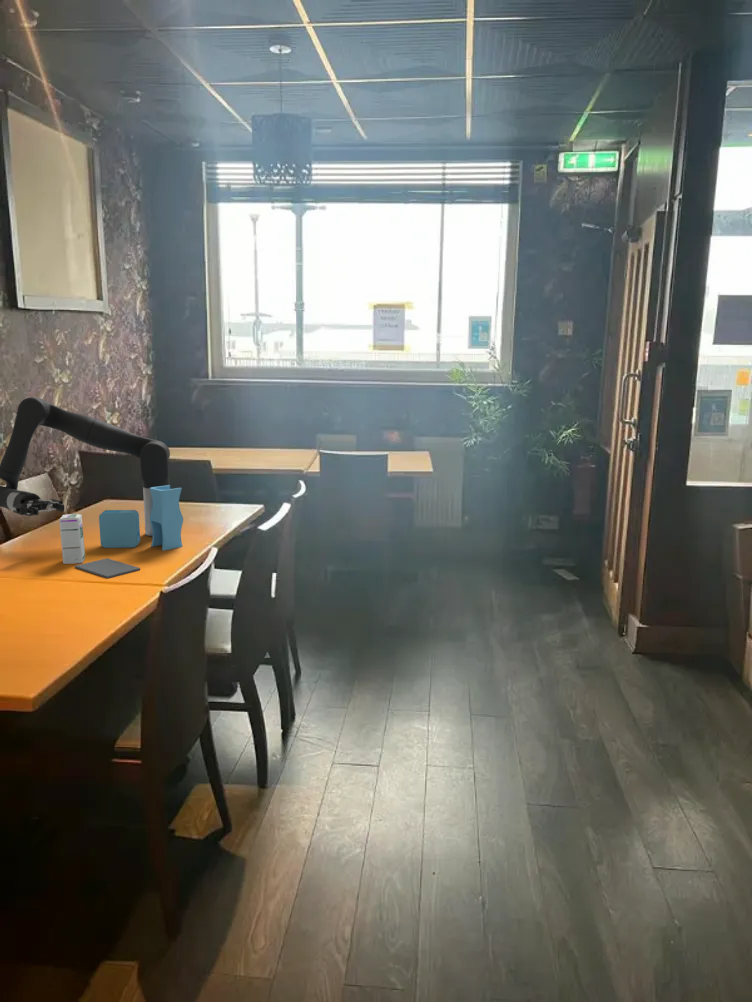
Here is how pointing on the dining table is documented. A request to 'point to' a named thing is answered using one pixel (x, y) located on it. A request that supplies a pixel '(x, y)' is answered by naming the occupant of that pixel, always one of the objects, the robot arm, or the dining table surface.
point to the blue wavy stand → (166, 517)
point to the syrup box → (72, 538)
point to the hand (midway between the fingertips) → (50, 510)
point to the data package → (119, 528)
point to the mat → (107, 568)
